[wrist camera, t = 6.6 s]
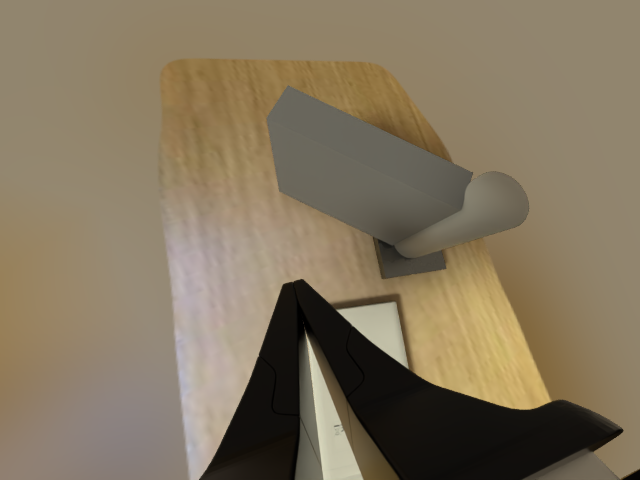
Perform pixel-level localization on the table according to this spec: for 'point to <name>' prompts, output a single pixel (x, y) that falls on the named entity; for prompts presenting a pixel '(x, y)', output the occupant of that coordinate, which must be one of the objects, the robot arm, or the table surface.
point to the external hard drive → (334, 446)
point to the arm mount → (405, 261)
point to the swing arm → (385, 180)
